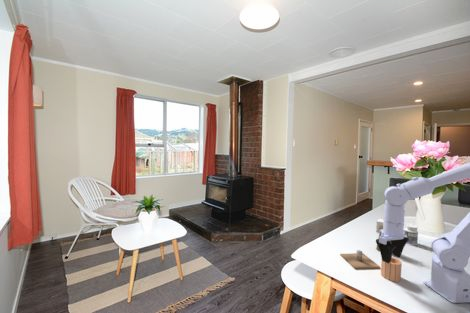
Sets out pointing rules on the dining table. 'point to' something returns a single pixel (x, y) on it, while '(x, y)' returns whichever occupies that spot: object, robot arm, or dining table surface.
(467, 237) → the robot arm
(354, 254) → the plate
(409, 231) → the pill bottle
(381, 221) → the white beige cube
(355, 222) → the dining table surface
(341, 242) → the dining table surface
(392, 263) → the wooden slatted pot
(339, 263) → the dining table surface
